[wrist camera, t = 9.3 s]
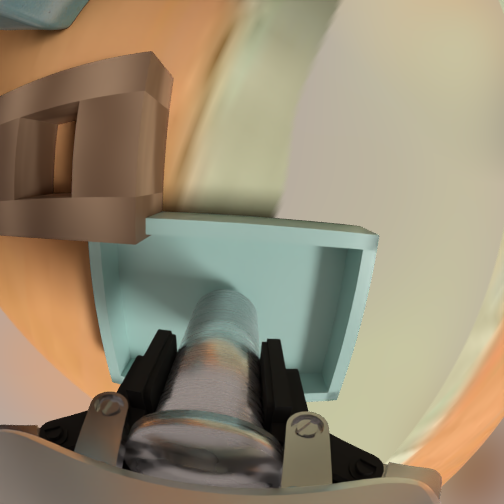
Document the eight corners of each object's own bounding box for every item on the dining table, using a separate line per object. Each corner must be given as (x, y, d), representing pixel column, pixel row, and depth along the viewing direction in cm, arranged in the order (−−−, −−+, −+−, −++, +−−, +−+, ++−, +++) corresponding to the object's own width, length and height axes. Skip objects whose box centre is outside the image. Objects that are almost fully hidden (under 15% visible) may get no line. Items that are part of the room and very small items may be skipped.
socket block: (173, 78, 13) (151, 51, 9) (162, 228, 15) (135, 244, 11) (29, 106, 13) (-5, 98, 9) (23, 223, 15) (-13, 234, 11)
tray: (359, 226, 15) (379, 235, 13) (327, 375, 18) (336, 399, 16) (110, 209, 15) (87, 216, 12) (125, 360, 18) (112, 382, 15)
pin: (270, 283, 14) (300, 438, 5) (262, 354, 16) (274, 504, 6) (183, 277, 14) (103, 415, 5) (186, 348, 15) (141, 490, 6)
